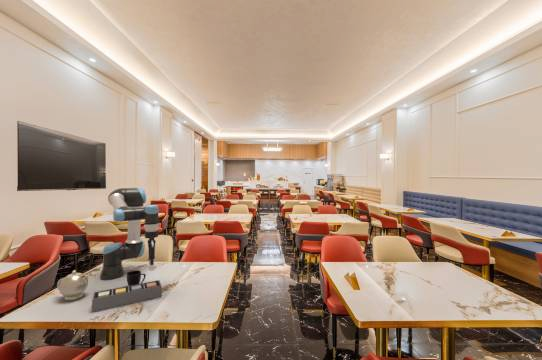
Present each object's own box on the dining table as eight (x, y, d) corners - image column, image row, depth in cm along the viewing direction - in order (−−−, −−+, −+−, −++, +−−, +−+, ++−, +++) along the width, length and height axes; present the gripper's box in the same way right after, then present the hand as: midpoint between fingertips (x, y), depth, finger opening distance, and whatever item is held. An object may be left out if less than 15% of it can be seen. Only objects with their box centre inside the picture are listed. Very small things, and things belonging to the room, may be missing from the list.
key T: (115, 296, 144) (115, 289, 144) (125, 294, 147) (125, 287, 147) (115, 299, 140) (115, 292, 140) (125, 297, 143) (125, 290, 143)
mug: (140, 290, 160) (141, 275, 160) (123, 289, 161) (123, 274, 161) (148, 285, 168) (148, 270, 168) (132, 284, 169) (132, 270, 169)
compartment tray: (93, 304, 141) (93, 292, 141) (159, 290, 159) (159, 280, 159) (92, 312, 133) (92, 299, 133) (161, 297, 150) (161, 285, 150)
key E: (146, 289, 153) (146, 283, 153) (155, 288, 155) (155, 282, 155) (147, 292, 148) (147, 286, 148) (156, 291, 151) (156, 284, 151)
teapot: (94, 293, 156) (94, 266, 156) (76, 303, 142) (76, 274, 142) (67, 292, 157) (67, 266, 157) (46, 302, 143) (46, 274, 143)
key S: (131, 292, 149) (131, 286, 149) (140, 290, 151) (140, 284, 151) (131, 296, 144) (131, 289, 144) (141, 294, 147) (141, 287, 147)
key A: (98, 299, 140) (98, 292, 140) (109, 297, 143) (109, 290, 143) (98, 303, 136) (98, 296, 136) (109, 300, 139) (109, 294, 139)
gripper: (143, 229, 156) (143, 267, 156) (145, 233, 145) (145, 274, 144) (156, 228, 160) (156, 265, 159) (159, 231, 148) (159, 271, 148)
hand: (151, 269), depth 152 cm, fingers closed
